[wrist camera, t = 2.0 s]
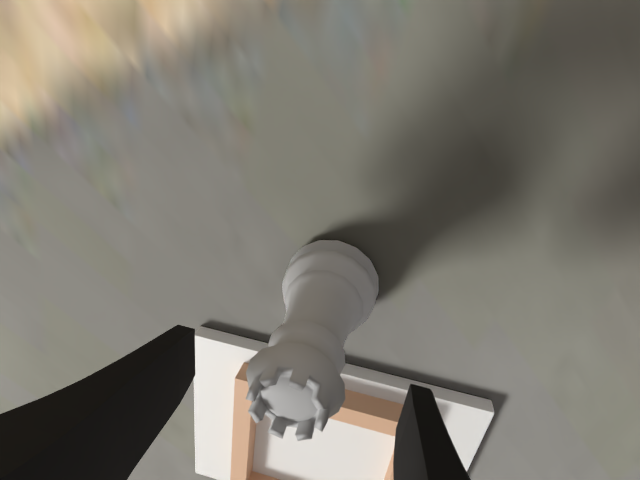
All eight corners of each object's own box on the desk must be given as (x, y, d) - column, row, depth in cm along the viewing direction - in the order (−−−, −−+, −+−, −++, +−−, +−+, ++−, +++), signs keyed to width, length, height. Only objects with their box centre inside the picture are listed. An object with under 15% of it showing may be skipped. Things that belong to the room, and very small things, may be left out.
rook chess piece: (399, 268, 17) (393, 406, 10) (348, 331, 19) (314, 483, 12) (316, 217, 17) (251, 321, 10) (274, 285, 19) (195, 412, 12)
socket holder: (491, 400, 19) (500, 433, 17) (430, 532, 24) (432, 568, 22) (200, 325, 21) (181, 349, 19) (201, 461, 26) (186, 489, 25)
